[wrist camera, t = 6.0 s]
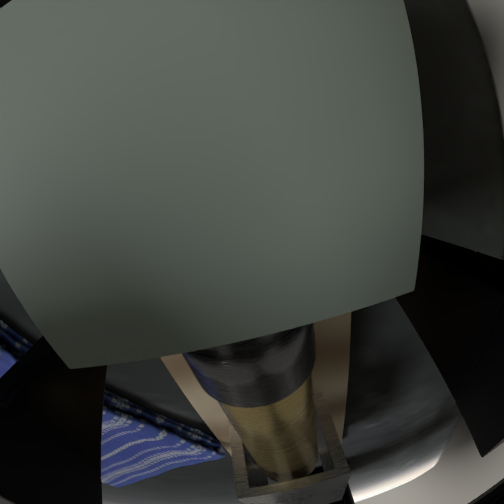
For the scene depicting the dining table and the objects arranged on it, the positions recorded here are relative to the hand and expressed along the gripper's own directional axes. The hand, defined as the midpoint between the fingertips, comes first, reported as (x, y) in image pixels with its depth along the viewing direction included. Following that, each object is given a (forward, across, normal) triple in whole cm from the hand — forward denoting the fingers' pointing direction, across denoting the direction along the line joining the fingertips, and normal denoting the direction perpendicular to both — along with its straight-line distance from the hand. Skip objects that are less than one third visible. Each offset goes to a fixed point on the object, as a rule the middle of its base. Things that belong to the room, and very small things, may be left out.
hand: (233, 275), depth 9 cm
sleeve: (+2, 0, +13) cm, 13 cm away
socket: (+2, 0, -4) cm, 5 cm away
